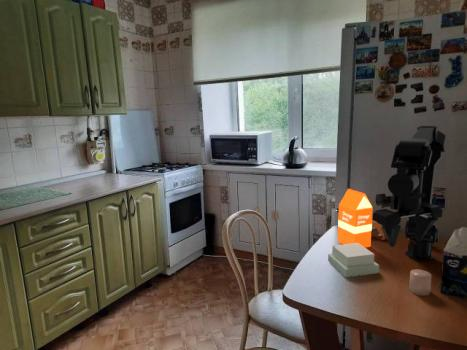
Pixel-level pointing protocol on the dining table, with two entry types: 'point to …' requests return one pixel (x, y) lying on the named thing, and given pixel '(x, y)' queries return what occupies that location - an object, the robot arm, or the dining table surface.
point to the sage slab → (353, 267)
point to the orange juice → (355, 219)
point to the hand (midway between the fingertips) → (405, 243)
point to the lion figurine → (379, 228)
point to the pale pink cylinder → (420, 282)
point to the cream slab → (353, 254)
